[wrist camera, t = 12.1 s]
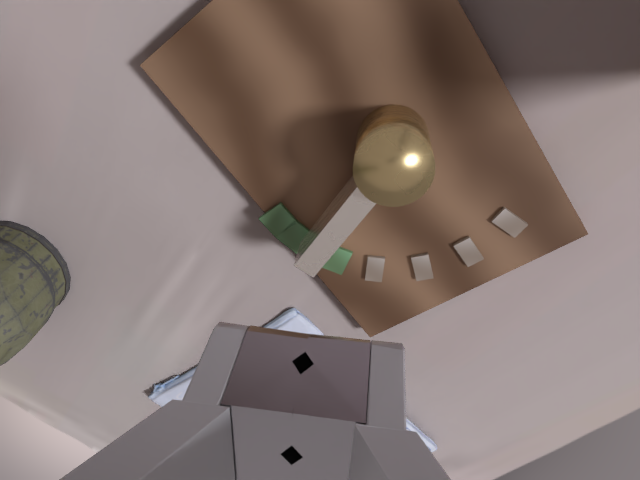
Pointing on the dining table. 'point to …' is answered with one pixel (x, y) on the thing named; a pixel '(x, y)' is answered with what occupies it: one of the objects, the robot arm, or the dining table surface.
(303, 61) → the dial board
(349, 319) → the dining table surface
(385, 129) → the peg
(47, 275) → the thermos
